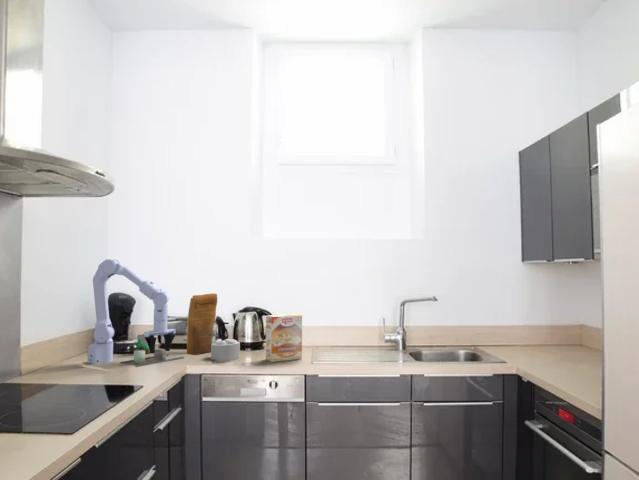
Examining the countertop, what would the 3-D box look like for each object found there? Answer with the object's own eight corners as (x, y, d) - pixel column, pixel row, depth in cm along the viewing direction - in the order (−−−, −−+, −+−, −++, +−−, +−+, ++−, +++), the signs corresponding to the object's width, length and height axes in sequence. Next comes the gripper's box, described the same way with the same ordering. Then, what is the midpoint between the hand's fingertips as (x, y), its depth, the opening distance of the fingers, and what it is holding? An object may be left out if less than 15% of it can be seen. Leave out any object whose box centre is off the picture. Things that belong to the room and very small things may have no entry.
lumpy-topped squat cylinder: (243, 358, 223) (243, 338, 224) (222, 363, 212) (222, 342, 213) (226, 356, 229) (226, 337, 229) (205, 360, 218) (205, 340, 218)
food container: (150, 357, 226) (150, 335, 226) (136, 357, 226) (137, 335, 226) (159, 352, 238) (159, 331, 239) (146, 352, 238) (147, 331, 239)
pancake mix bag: (221, 350, 243) (222, 293, 244) (190, 356, 227) (191, 295, 229) (211, 349, 247) (212, 292, 248) (180, 355, 231) (181, 294, 233)
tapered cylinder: (137, 364, 204) (138, 352, 204) (131, 363, 206) (131, 351, 207) (147, 362, 207) (147, 350, 208) (141, 361, 210) (141, 349, 210)
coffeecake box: (271, 362, 214) (271, 316, 215) (265, 359, 221) (265, 315, 222) (302, 359, 221) (302, 314, 222) (295, 356, 228) (295, 313, 229)
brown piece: (137, 367, 201) (137, 355, 201) (124, 365, 206) (124, 353, 206) (168, 362, 213) (168, 350, 213) (155, 359, 218) (155, 348, 218)
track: (137, 369, 199) (137, 365, 199) (120, 365, 206) (120, 361, 206) (184, 360, 218) (184, 356, 218) (166, 357, 225) (166, 354, 225)
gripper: (151, 322, 207) (150, 355, 207) (180, 319, 219) (179, 350, 218) (141, 321, 212) (140, 353, 211) (170, 318, 223) (169, 349, 223)
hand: (159, 351), depth 215 cm, fingers open, 7 cm apart
